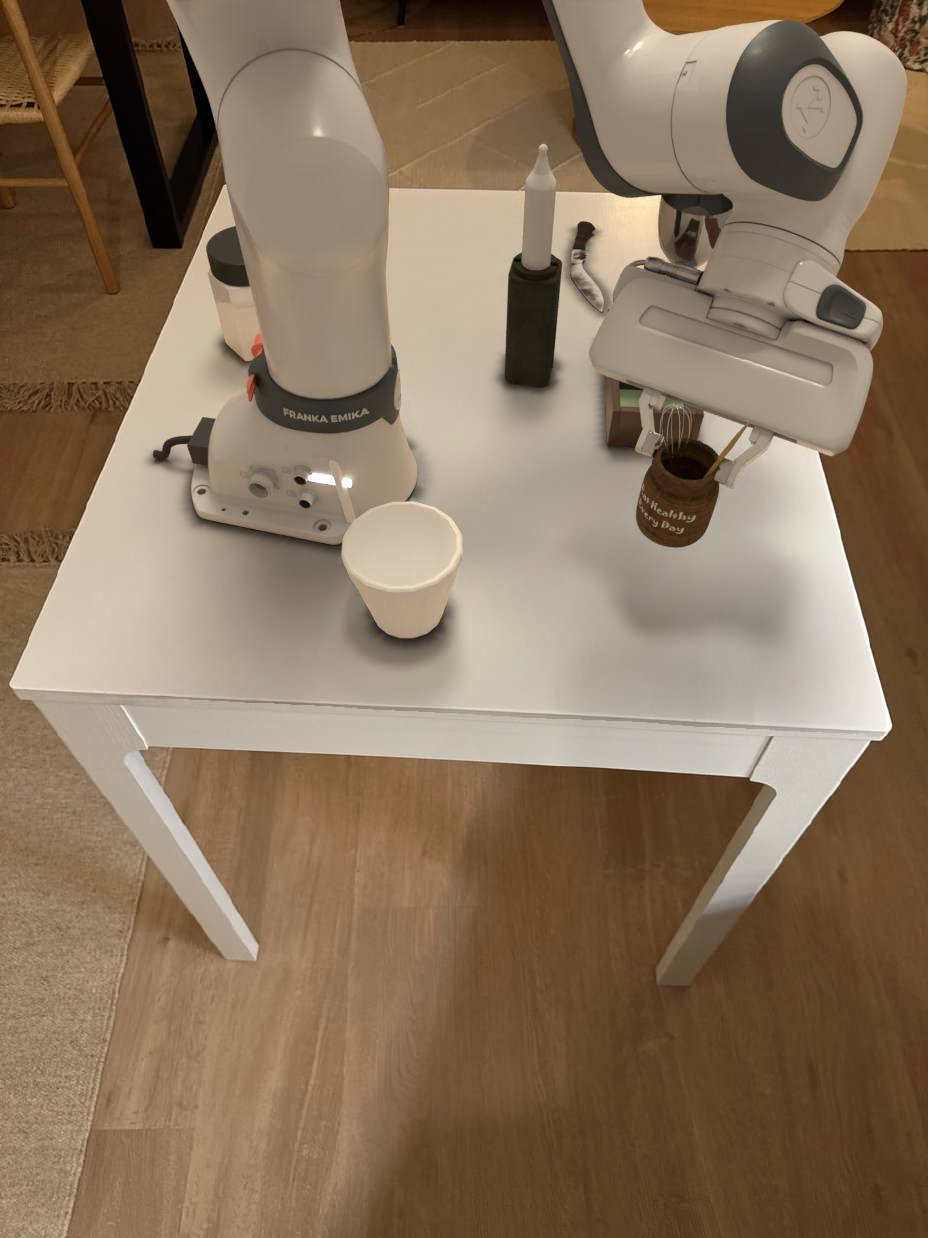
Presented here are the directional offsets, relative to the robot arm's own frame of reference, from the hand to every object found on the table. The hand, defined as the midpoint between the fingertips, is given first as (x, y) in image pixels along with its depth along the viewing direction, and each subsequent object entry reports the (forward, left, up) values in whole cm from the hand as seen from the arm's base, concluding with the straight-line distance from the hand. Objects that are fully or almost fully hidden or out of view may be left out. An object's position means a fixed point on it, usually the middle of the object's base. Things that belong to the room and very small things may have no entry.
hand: (683, 469), depth 68 cm
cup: (-22, -2, -17) cm, 27 cm away
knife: (-5, +54, -17) cm, 56 cm away
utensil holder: (0, +1, -7) cm, 7 cm away
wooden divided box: (+1, +30, -17) cm, 34 cm away
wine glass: (+5, +44, -17) cm, 47 cm away
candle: (-12, +33, -17) cm, 39 cm away
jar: (-43, +37, -17) cm, 59 cm away
